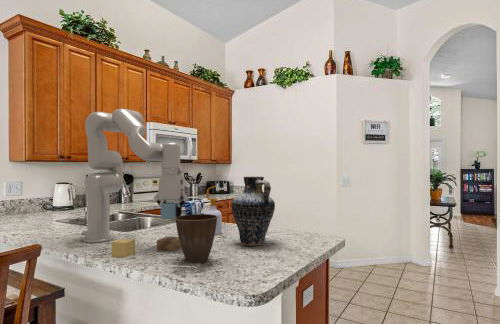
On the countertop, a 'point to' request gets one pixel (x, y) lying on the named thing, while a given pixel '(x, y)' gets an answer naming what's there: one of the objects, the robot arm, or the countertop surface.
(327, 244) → the countertop surface
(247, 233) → the jug
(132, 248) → the ochre brick
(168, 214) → the blue brick
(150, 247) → the grey flat board
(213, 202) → the soap bottle
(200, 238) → the plant pot
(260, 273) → the countertop surface
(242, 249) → the countertop surface
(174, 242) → the walnut base brick
